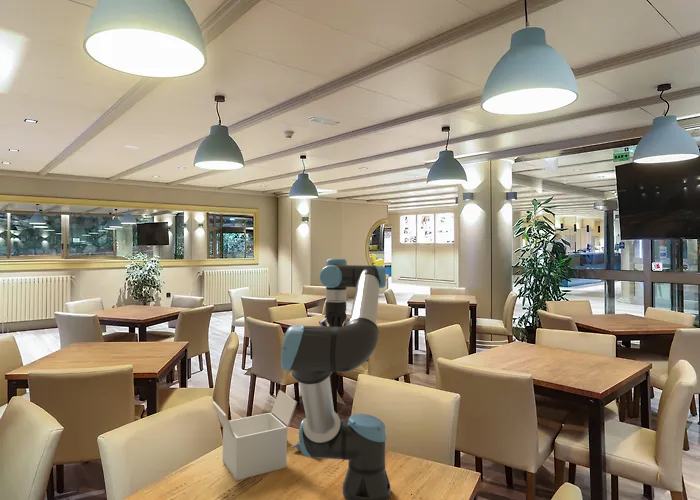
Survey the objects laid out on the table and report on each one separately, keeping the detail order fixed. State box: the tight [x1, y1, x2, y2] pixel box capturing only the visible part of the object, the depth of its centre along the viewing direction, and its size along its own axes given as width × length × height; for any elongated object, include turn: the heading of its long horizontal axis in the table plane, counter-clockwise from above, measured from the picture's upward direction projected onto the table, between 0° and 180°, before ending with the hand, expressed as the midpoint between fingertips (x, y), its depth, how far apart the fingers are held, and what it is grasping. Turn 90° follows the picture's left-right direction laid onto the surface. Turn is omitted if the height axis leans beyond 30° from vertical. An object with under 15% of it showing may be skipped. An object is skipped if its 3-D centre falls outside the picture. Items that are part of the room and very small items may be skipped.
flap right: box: [270, 389, 298, 427], centre depth 161 cm, size 15×8×1 cm
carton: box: [222, 412, 288, 481], centre depth 155 cm, size 16×18×14 cm
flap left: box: [212, 400, 235, 438], centre depth 149 cm, size 15×8×1 cm
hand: (335, 365), depth 159 cm, fingers closed
